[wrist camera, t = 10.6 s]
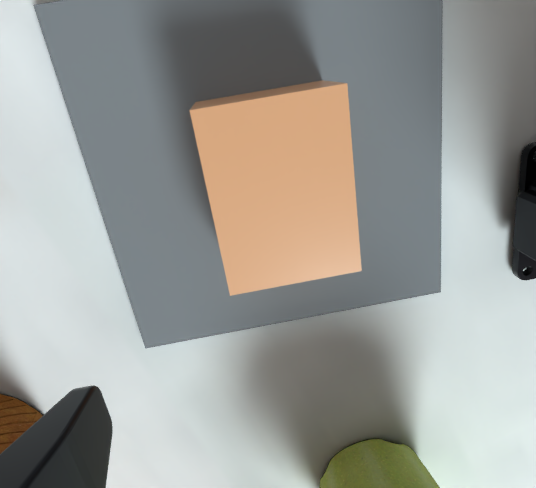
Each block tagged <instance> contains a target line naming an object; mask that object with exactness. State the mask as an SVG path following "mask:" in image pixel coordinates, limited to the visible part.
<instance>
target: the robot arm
mask: <svg viewBox="0 0 536 488" xmlns="http://www.w3.org/2000/svg"><path fill="white" fill-rule="evenodd" d="M535 152H536V142H533V143H531V144H529V145H527V146H526V147H525V148H524V150H523V151H522V155H521V165H520V178H519V190H518V196H517V201H516V214H515V226H514V239H513V246H514V252H513V265H512V272H513V274H514V275H515V276H517V277H518V278H519V279H522V280H530V279H535V278H536V158H535V159H533V155H534V153H535ZM525 267H527V269H526V270H525V271H523V269H524V268H525ZM111 440H112V421H111V417H110V415H109V412H108V409H107V407H106V404H105V401H104V399H103V396H102V393H101V391H100V389H99V388H98V387H97V386H87V387H82V388H76V389H73V390H72V391H70V392H69V393H68V394H67V395H66V396H65V397H64V398H62V399H61V400H60V401H59V402H58V403H57V404H56V405H55V406H53V407H52V408H51V409H50V410H49V411H48V412H47V413H46V414H44V415H43V416H42V417H41V418H40V419H39V420H38V421H37V422H36V423H34V424H33V425H32V426H31V427H30V428H29V429H28V430H27V431H25V432H24V433H23V434H22V435H21V436H20V437H19V438H18V439H16V440H15V441H14V442H13V443H12V444H11V445H10V446H9V447H8V448H6V449H5V450H4V451H3V452H2V453H1V454H0V488H106V480H107V472H108V464H109V456H110V448H111Z"/></svg>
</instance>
